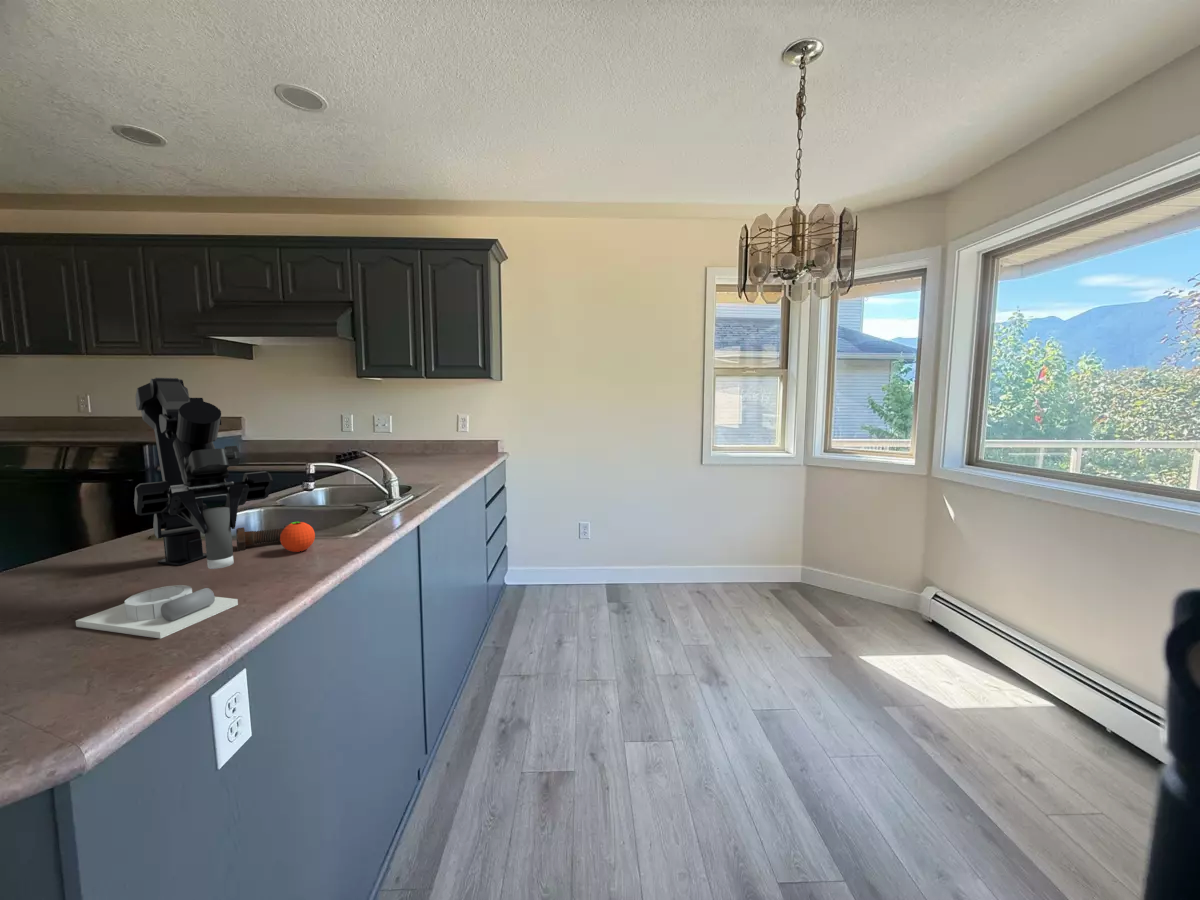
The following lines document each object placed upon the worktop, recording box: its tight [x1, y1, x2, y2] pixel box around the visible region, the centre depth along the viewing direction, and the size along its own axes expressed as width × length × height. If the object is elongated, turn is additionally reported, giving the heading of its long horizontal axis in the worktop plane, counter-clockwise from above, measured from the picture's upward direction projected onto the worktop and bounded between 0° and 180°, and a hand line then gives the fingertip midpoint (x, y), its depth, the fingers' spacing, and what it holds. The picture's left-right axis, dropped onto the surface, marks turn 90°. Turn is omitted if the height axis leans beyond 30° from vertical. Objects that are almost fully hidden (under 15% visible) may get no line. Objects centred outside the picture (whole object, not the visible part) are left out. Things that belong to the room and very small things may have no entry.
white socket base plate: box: [75, 584, 239, 640], centre depth 78 cm, size 17×12×4 cm
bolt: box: [235, 523, 290, 551], centre depth 117 cm, size 6×5×15 cm
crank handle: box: [203, 506, 235, 570], centre depth 83 cm, size 4×4×10 cm
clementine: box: [279, 521, 316, 553], centre depth 111 cm, size 8×7×7 cm
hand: (219, 529), depth 82 cm, fingers closed on crank handle, 4 cm apart
